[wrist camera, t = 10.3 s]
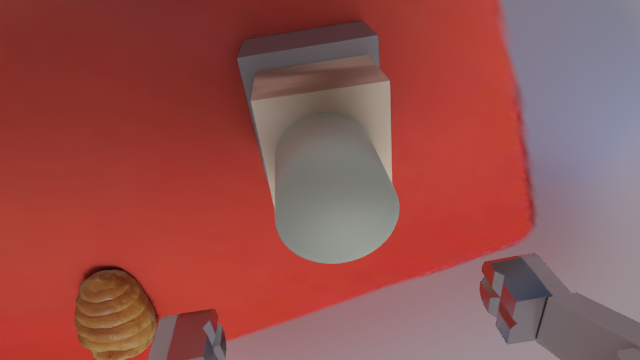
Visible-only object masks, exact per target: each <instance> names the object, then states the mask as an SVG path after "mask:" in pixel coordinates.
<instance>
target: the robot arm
mask: <svg viewBox="0 0 640 360" xmlns="http://www.w3.org/2000/svg"><path fill="white" fill-rule="evenodd" d="M482 272H483V274H484V275H485V277H484V278H483V279H482V280H481V281H480V295H481V299H482V302H483V304H484V306H485V308H486V310H487V311H488V313H490V314H491V315H493V316H495V317H496V318H497V319H496V327H497V328H498V330H499V332H500V333H501V335H502V337H503V338H504V340H505V342H506V343H507V344H513V343H519V342H526V341H533V340H536V342H537V343H539V344H540V345H541V346H543V347H544V348H546V349H547V350H548V351H550V352H551V353H553V354H554V355H555V356H557V357H558V358H559V359H561V360H640V323H639V322H637V321H635V320H633V319H631V318H629V317H626V316H624V315H622V314H620V313H618V312H616V311H614V310H612V309H610V308H608V307H606V306H604V305H602V304H599V303H597V302H595V301H593V300H591V299H589V298H587V297H585V296H583V295H581V294H579V293H577V292H576V293H571V292H570V291H569V290H568V288H567V287H566V286H565V285H564V284H563V283H562V282H561V280H560V279H559V278H558V277H557V276H556V275H555V274H554V273H553V272H552V270H551V269H550V268H549V267H548V266H547V265H546V263H545V262H543V260H542V259H541V258H540V257H539V255H537V254H535V253H531V254H526V255H520V256H513V257H508V258H502V259H497V260H491V261H486V262H484V264H483V266H482ZM217 323H218V315H217V312H216V310H215V309H208V310H202V311H195V312H188V313H181V314H176V315H169V316H163V317H162V318H161V320H160V321H159V323H158V327H157V330H156V333H155V337H154V340H153V343H152V347H151V350H150V354H149V357H148V360H225V359H226V337H225V333H224V330H223V327H222V326H221V325H219V324H217Z"/></svg>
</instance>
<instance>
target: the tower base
mask: <svg viewBox="0 0 640 360" xmlns="http://www.w3.org/2000/svg"><path fill="white" fill-rule="evenodd" d="M362 55H369V56H370V57H371V59H372V60H373V61H374V62H375V63H376V65H377V66H378V67H379V68H380V60H379V42H378V34H376V33H375V32H374V31H373V30H372V29H371V28H370V27H369V26H368V25H366V24H365V23H364V22H363V21H356V22H350V23H344V24H338V25H332V26H326V27H319V28H313V29H307V30H301V31H295V32H289V33H283V34H277V35H270V36H264V37H258V38H252V39H246V40H243V42H242V45H241V48H240V50H239V53H238V56H237V61H238V65H239V69H240V73H241V77H242V81H243V85H244V89H245V94H246V98H247V102H248V106H249V110H250V114H251V118H252V122H253V126H254V130H255V134H256V138H257V142H258V146H259V150H260V154H261V158H262V162H263V166H264V170H265V174H266V179H268V177H267V173H266V168H265V164H264V159H263V155H262V150H261V146H260V141H259V137H258V132H257V128H256V123H255V119H254V114H253V110H252V105H251V96H252V90H253V84H254V78H255V72H256V71H258V70H265V69H272V68H279V67H286V66H293V65H300V64H307V63H314V62H321V61H328V60H335V59H342V58H349V57H355V56H362Z"/></svg>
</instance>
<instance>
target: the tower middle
mask: <svg viewBox="0 0 640 360" xmlns="http://www.w3.org/2000/svg"><path fill="white" fill-rule="evenodd" d="M251 105H252V110H253V114H254V119H255V123H256V128H257V132H258V137H259V141H260V146H261V150H262V155H263V159H264V164H265V168H266V173H267V177H268V182H269V186H270V191H271V195H272V200H273V204H274V209H275V152H276V147H277V144H278V142H279V140H280V138H281V136H282V134H283V133H284V132H285V130H286V129H287V128H288V127H289V126H290V125H291V124H293V123H294V122H295V121H297V120H299V119H300V118H302V117H304V116H307V115H310V114H313V113H318V112H336V113H340V114H344V115H346V116H349V117H351V118H352V119H354V120H355V121H357V122H358V123H359V124H360V125H361V126H363V128H364V129H365V130H366V132H367V133H368V135H369V137H370V139H371V141H372V143H373V145H374V147H375V149H376V151H377V154H378V156H379V158H380V160H381V162H382V164H383V166H384V168H385V170H386V172H387V174H388V176H389V178H390V180H391V183H392V152H391V106H390V80H389V79H388V78H387V77H386V75H385V74H384V73H383V72H382V71H381V69H380V68H379V67H378V66H377V65H376V63H375V62H374V61H373V60H372V59H371V57H370V56H369V55H362V56H355V57H349V58H342V59H335V60H328V61H321V62H314V63H307V64H300V65H293V66H286V67H279V68H272V69H265V70H258V71H256V72H255V78H254V84H253V90H252V96H251Z"/></svg>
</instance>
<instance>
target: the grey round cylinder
mask: <svg viewBox="0 0 640 360" xmlns="http://www.w3.org/2000/svg"><path fill="white" fill-rule="evenodd" d="M398 217H399V200H398V196H397V193H396V191H395V189H394V187H393V185H392V183H391V180H390V178H389V176H388V174H387V172H386V170H385V168H384V166H383V164H382V162H381V160H380V158H379V156H378V154H377V151H376V149H375V147H374V145H373V143H372V141H371V139H370V137H369V135H368V133H367V132H366V130H365V129H364V128H363V126H361V125H360V124H359V123H358V122H357V121H355V120H354V119H352V118H351V117H349V116H346V115H344V114H340V113H336V112H318V113H313V114H310V115H307V116H304V117H302V118H300V119H299V120H297V121H295V122H294V123H293V124H291V125H290V126H289V127H288V128H287V129H286V130H285V132H284V133H283V134H282V136H281V138H280V140H279V142H278V144H277V147H276V152H275V225H276V229H277V232H278V234H279V237H280V238H281V240H282V241H283V243H284V244H285V245H286V246H287V247H288V248H289V249H290V250H291V251H292V252H294V253H295V254H297V255H298V256H300V257H303V258H305V259H307V260H310V261H314V262H318V263H328V264H335V263H344V262H349V261H353V260H356V259H359V258H361V257H364V256H366V255H368V254H370V253H371V252H373V251H374V250H376V249H377V248H378V247H380V246H381V245H382V244H383V243H384V242H385V241H386V240H387V239H388V237H389V236H390V235H391V233H392V232H393V230H394V228H395V226H396V223H397V220H398Z"/></svg>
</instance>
